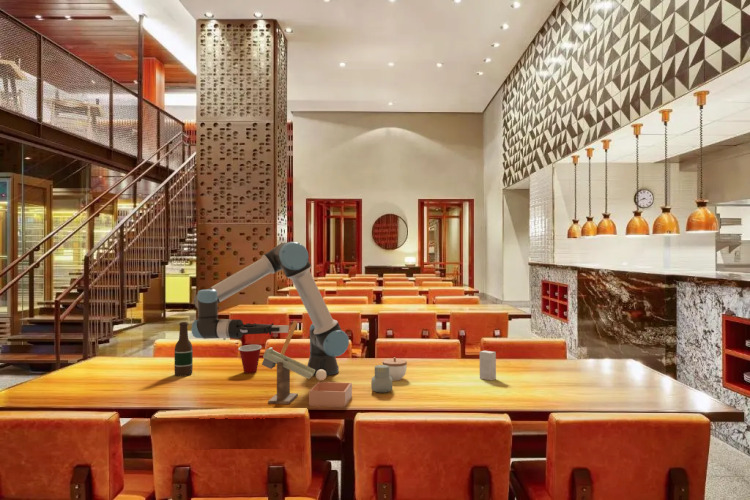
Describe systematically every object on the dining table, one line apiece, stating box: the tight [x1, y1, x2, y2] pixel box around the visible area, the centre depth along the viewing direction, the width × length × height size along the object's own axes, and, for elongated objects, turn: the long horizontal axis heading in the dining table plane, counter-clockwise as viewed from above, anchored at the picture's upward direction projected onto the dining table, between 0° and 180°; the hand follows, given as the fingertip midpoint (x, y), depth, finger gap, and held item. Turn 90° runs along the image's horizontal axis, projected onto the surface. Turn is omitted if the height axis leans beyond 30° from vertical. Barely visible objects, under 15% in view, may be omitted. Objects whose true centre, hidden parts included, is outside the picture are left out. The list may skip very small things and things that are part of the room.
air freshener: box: [370, 364, 393, 394], centre depth 205 cm, size 11×8×10 cm
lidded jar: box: [382, 357, 408, 381], centre depth 225 cm, size 11×11×9 cm
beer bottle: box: [174, 321, 194, 377], centre depth 233 cm, size 8×8×24 cm
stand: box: [267, 356, 299, 405], centre depth 193 cm, size 8×11×15 cm
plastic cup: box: [238, 344, 263, 374], centre depth 238 cm, size 11×11×12 cm
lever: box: [261, 320, 315, 380], centre depth 193 cm, size 20×10×18 cm, turn 82°
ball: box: [315, 369, 327, 381], centre depth 191 cm, size 4×4×4 cm
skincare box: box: [479, 350, 497, 381], centre depth 224 cm, size 6×4×12 cm
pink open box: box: [308, 381, 353, 408], centre depth 190 cm, size 13×13×6 cm
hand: (288, 328), depth 198 cm, fingers closed
